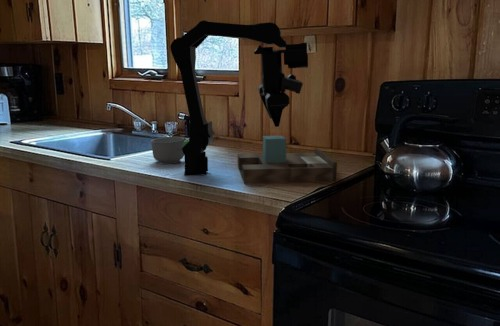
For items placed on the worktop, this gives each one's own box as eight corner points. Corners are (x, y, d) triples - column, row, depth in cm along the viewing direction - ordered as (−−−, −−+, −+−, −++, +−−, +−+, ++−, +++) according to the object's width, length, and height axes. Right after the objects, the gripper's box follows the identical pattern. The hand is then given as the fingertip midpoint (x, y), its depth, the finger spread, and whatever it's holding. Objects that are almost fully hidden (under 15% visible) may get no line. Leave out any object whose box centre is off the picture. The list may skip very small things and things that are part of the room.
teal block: (265, 162, 136) (265, 139, 134) (262, 158, 142) (262, 135, 140) (285, 162, 136) (286, 138, 135) (282, 158, 142) (282, 135, 141)
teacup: (183, 165, 150) (182, 141, 149) (149, 165, 150) (148, 141, 148) (186, 157, 164) (186, 134, 162) (155, 157, 163) (154, 134, 162)
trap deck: (244, 183, 128) (244, 164, 127) (237, 166, 150) (237, 149, 148) (336, 181, 131) (337, 162, 130) (316, 164, 152) (317, 148, 151)
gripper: (307, 72, 124) (308, 128, 129) (293, 62, 141) (294, 112, 147) (266, 75, 123) (268, 132, 128) (256, 65, 140) (259, 115, 146)
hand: (274, 122), depth 137 cm, fingers open, 9 cm apart
